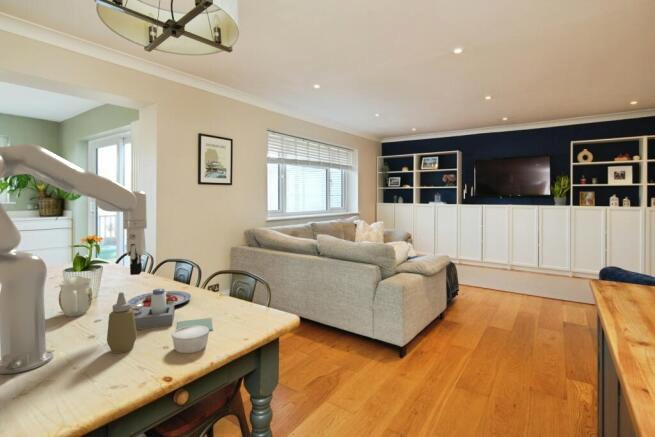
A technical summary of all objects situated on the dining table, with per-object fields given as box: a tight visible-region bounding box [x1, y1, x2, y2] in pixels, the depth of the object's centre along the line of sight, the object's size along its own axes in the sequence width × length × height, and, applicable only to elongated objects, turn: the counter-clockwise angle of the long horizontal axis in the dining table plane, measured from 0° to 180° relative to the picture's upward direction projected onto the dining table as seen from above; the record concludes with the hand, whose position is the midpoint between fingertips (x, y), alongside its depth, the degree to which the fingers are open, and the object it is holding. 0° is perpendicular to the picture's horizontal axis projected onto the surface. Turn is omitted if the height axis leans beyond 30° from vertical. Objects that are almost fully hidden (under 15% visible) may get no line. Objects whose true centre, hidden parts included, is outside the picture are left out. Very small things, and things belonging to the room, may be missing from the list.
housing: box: [134, 305, 175, 330], centre depth 128 cm, size 16×12×4 cm
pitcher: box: [58, 275, 93, 317], centre depth 135 cm, size 11×18×14 cm, turn 34°
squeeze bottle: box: [106, 292, 138, 354], centre depth 105 cm, size 8×8×18 cm
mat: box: [176, 317, 214, 332], centre depth 125 cm, size 12×12×1 cm
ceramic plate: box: [127, 290, 192, 308], centre depth 152 cm, size 26×26×3 cm
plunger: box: [130, 304, 143, 315], centre depth 126 cm, size 4×4×4 cm
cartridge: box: [151, 288, 166, 315], centre depth 129 cm, size 5×5×12 cm
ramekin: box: [171, 325, 210, 354], centre depth 107 cm, size 11×11×5 cm
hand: (136, 273), depth 126 cm, fingers closed
